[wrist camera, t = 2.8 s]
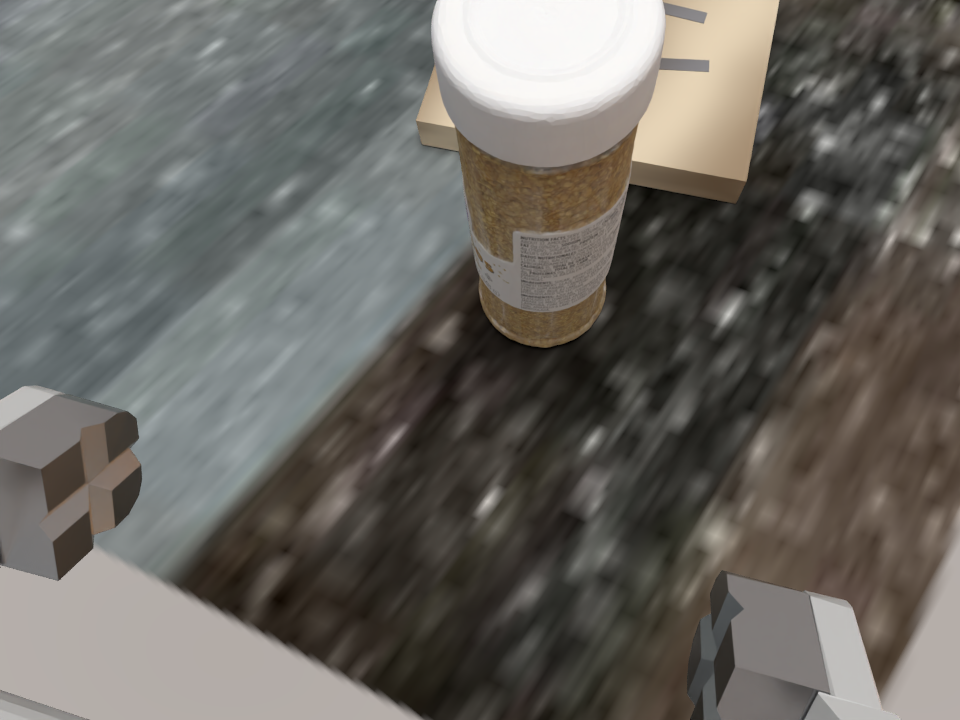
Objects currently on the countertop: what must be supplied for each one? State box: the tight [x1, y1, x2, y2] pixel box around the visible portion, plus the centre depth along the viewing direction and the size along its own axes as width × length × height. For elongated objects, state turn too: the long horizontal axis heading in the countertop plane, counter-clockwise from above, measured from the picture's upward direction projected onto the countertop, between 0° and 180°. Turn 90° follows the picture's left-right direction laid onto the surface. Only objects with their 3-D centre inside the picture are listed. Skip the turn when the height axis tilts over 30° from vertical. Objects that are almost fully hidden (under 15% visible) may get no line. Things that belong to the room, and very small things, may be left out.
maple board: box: [416, 0, 779, 204], centre depth 29 cm, size 12×13×2 cm
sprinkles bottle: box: [431, 0, 666, 348], centre depth 21 cm, size 5×5×13 cm
